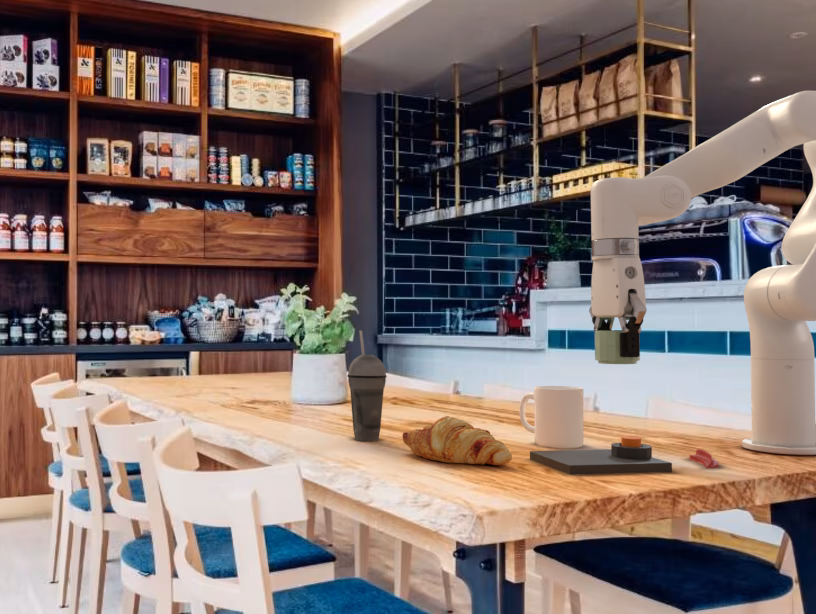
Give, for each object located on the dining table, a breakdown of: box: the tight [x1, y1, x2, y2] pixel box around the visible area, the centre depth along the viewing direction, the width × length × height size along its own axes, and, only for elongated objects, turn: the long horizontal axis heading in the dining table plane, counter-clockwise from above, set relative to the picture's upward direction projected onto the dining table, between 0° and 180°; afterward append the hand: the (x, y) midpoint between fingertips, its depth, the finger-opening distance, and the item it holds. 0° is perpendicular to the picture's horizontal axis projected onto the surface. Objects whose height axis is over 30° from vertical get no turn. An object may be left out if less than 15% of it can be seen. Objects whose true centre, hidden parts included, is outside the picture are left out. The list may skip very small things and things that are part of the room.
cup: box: [519, 385, 585, 449], centre depth 148 cm, size 8×12×10 cm
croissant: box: [402, 415, 513, 466], centre depth 130 cm, size 21×10×8 cm, turn 42°
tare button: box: [620, 435, 642, 447], centre depth 127 cm, size 3×3×2 cm
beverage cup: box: [347, 329, 387, 442], centre depth 153 cm, size 7×7×20 cm
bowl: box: [594, 329, 641, 365], centre depth 140 cm, size 7×7×6 cm
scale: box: [529, 442, 673, 476], centre depth 126 cm, size 16×13×3 cm
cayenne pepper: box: [688, 448, 719, 470], centre depth 129 cm, size 12×5×2 cm, turn 149°
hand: (617, 355), depth 140 cm, fingers closed on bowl, 7 cm apart
